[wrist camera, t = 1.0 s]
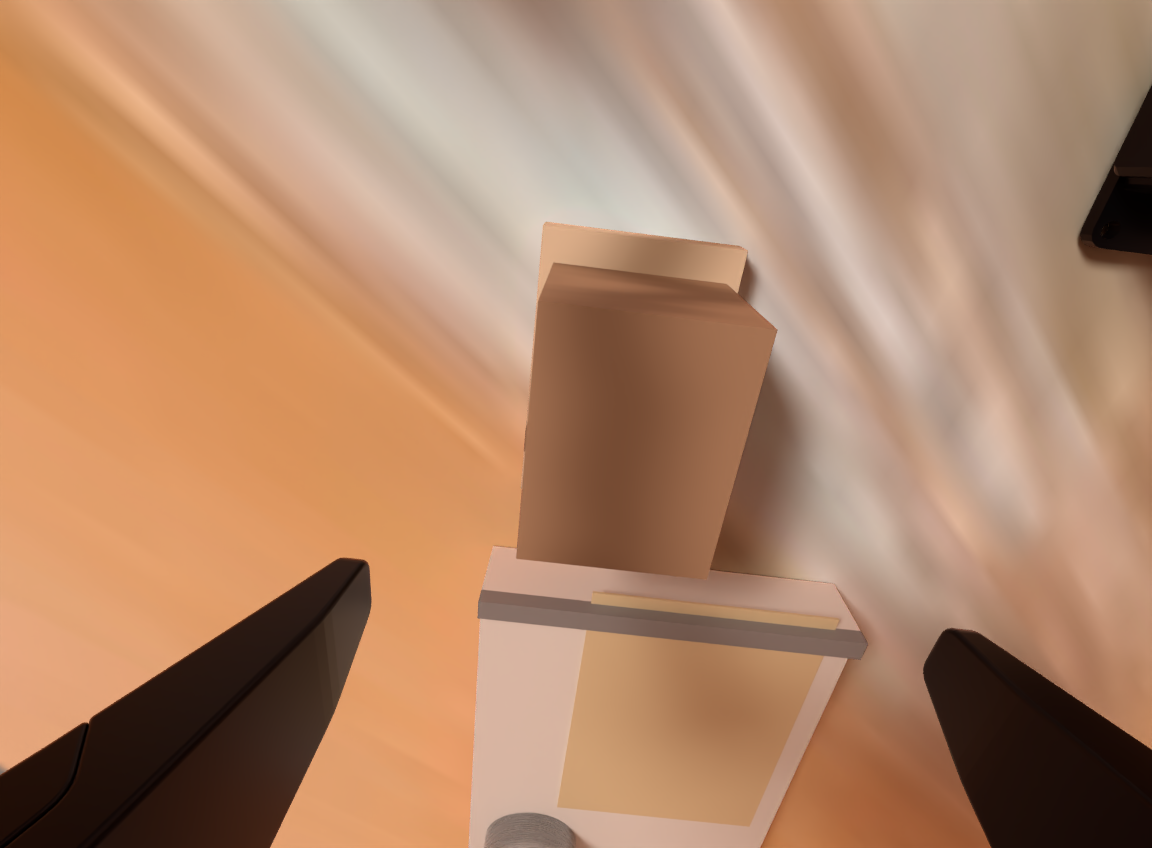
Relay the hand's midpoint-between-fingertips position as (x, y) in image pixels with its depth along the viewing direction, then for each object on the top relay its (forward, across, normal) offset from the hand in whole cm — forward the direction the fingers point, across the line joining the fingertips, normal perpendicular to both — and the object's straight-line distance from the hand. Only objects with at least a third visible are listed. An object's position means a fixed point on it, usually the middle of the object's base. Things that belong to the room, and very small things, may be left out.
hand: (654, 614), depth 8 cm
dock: (+11, -3, +17) cm, 21 cm away
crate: (+11, 0, 0) cm, 11 cm away
